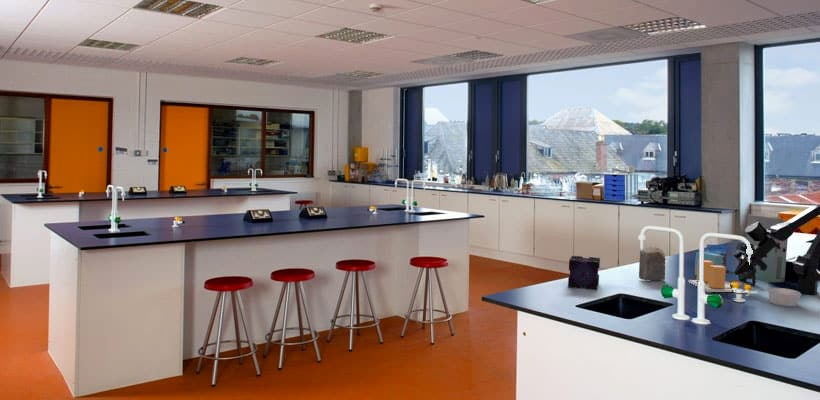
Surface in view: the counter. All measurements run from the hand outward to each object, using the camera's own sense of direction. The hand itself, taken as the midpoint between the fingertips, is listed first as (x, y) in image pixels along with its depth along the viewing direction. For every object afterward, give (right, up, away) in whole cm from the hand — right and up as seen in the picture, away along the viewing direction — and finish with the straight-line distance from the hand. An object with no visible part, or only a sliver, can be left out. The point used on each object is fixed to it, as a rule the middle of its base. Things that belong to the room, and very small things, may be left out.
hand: (734, 274), depth 266 cm
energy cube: (-64, -6, +4) cm, 64 cm away
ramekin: (+9, -10, -19) cm, 24 cm away
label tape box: (+17, -4, +52) cm, 55 cm away
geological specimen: (-28, -5, +19) cm, 35 cm away
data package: (+1, -5, +27) cm, 28 cm away
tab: (-7, -4, +12) cm, 15 cm away
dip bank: (-4, -7, +7) cm, 10 cm away
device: (+29, -6, +30) cm, 42 cm away
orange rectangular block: (-8, -6, +1) cm, 9 cm away
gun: (+16, -6, +20) cm, 26 cm away
